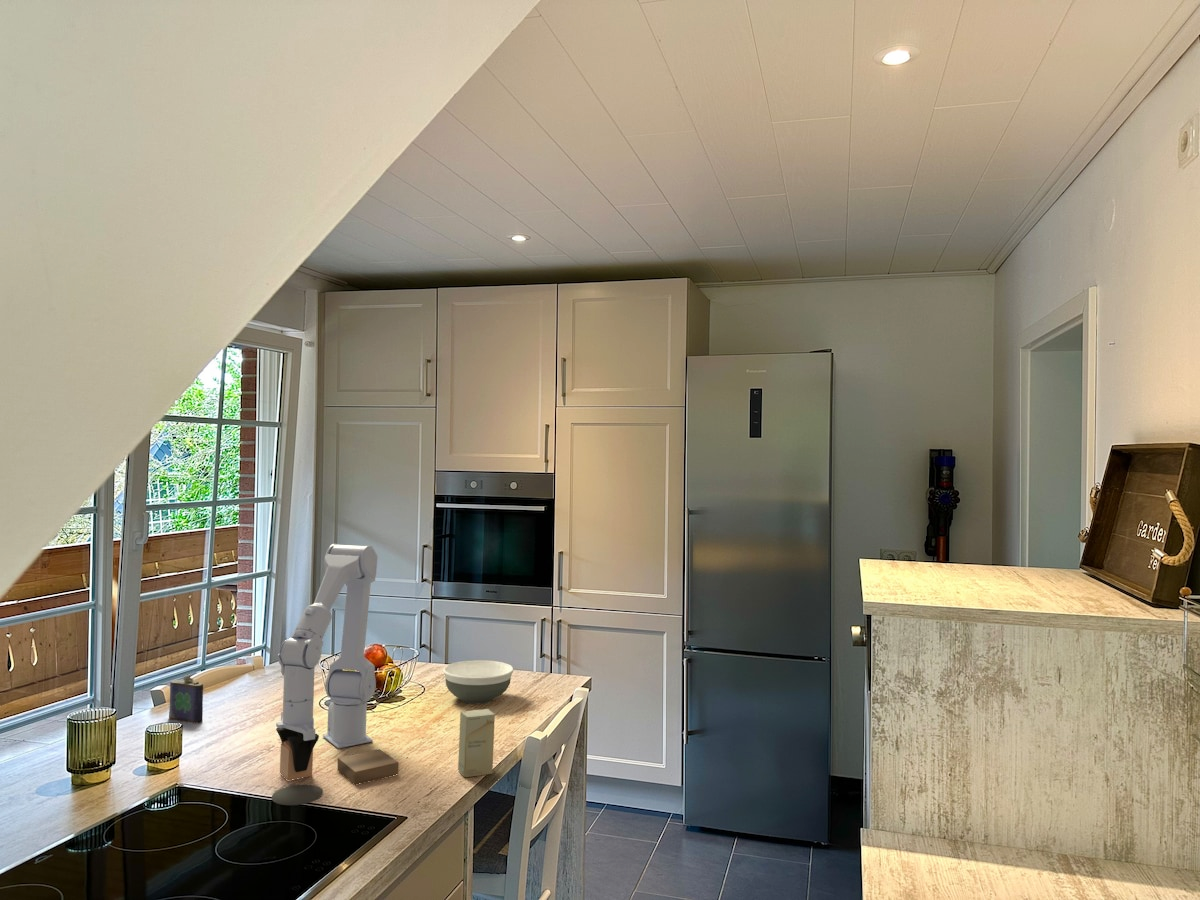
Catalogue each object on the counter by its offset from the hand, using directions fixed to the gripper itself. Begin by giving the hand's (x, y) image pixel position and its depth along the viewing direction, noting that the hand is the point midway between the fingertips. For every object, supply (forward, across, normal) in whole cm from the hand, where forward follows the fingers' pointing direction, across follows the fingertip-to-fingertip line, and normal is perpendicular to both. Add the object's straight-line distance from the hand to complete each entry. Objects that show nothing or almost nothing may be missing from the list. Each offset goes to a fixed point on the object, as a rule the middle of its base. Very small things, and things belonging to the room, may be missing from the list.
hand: (296, 766), depth 163 cm
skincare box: (+2, +19, +30) cm, 36 cm away
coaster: (+2, +10, -3) cm, 11 cm away
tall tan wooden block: (+2, 0, 0) cm, 2 cm away
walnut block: (+2, +7, +12) cm, 14 cm away
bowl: (+2, -25, +56) cm, 61 cm away
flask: (+2, -48, -10) cm, 49 cm away
